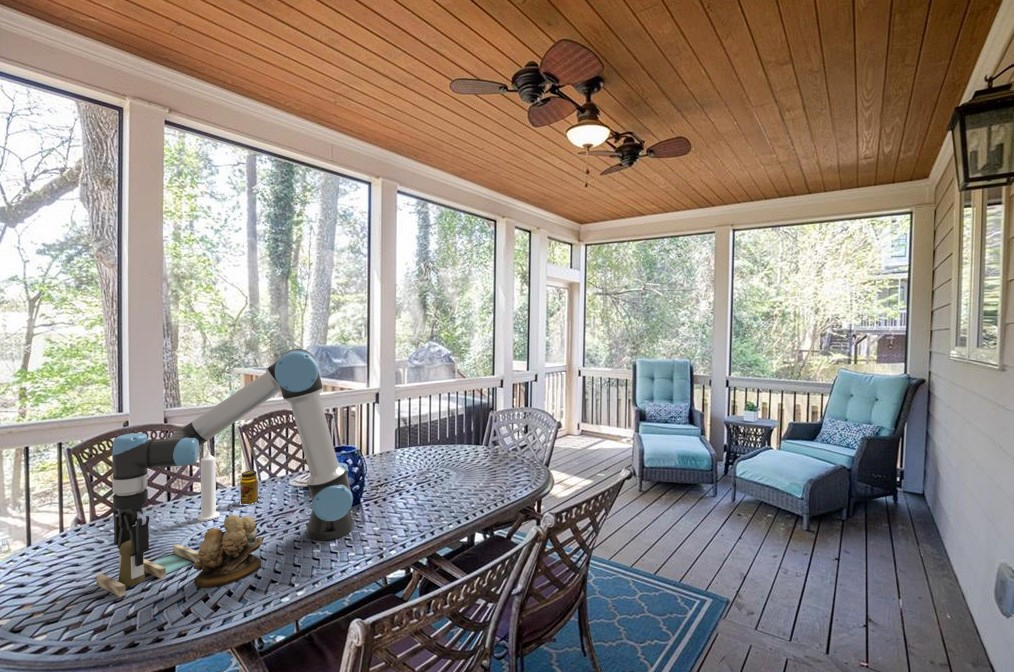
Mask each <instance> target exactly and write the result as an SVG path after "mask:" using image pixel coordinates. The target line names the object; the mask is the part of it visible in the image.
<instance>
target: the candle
mask: <svg viewBox="0 0 1014 672" xmlns="http://www.w3.org/2000/svg"><path fill="white" fill-rule="evenodd" d="M216 467H217V466H216V457H215V456H213V455H212V454H211V452H210V449H207V450H206V454H205V456H203V457H202V458H201V459H200V514H199V515H197V517H196V520H197V521H199V522H208V520H210V521H212V519H213V520H216V519H218V518H219V517H220V514H221V513H220V512H219V511H217V509H216V508H217V505H216V504H217V503H216V502H217V501H216V494H217V493H216V492H217V489H216V481H217V479H216V477H217V476H216V474H217V473H216ZM217 517H218V518H217ZM215 518H216V519H215Z"/></svg>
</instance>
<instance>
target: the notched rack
mask: <svg viewBox="0 0 1014 672" xmlns="http://www.w3.org/2000/svg"><path fill="white" fill-rule="evenodd" d="M172 550H173V551H172V552H173V553H172V554H170V555H168V556H166V557H162V558H161V559H158V560H155V561H150V560H147V559H145V558H144V572H145V573H148V574H150V575H152V576H154V577H156V578H159V579H164V578H166V577H167V576H166V575H168V574H171V573H174V572H175V571H177V570H178V571H179V570H180V569H183V568H185V567H187V566H189V565H191V564H193V563H196V562H198V561H200V560H198V555H199V554H198V552H199V551H198V550H194V549H191V548H188V547H187V546H184V545H181V544H178V543H176V544H174V545H173V546H172ZM95 579H96V586H98V587H100V588H102V589H104V590H106V591H108V592H110V593H112V594H113V595H116V596H117V597H120V598H122V597H123V596H125V595H126V587H125V585H124V584H122V583H120V582H118V580H116V579H113V578H112V577H110V576H108V575H105V574H104V573H100V574H97V575H96V578H95Z"/></svg>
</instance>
